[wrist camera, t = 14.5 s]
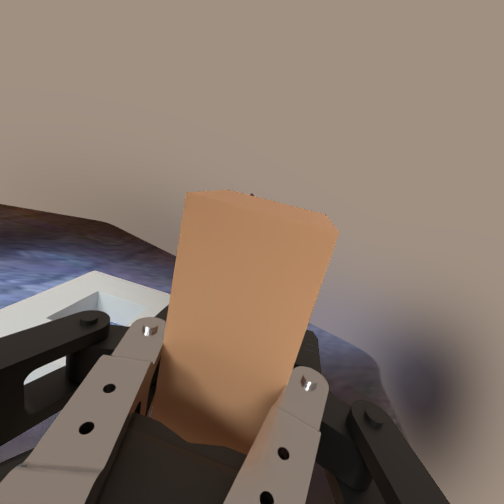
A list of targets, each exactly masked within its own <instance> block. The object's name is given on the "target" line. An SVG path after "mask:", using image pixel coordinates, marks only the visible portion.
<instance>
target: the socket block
mask: <svg viewBox="0 0 504 504" xmlns="http://www.w3.org/2000/svg"><path fill="white" fill-rule="evenodd" d="M170 295H171V294H168V293H165V292H161V291H158V290H155V289H152V288H149V287H146V286H142V285H139V284H136V283H133V282H130V281H126V280H123V279H120V278H117V277H114V276H111V275H107V274H104V273H101V272H98V271H92V272H90V273H87V274H85V275H82V276H80V277H78V278H75V279H73V280H70V281H68V282H66V283H63V284H61V285H58V286H56V287H53V288H51V289H49V290H46V291H44V292H41V293H39V294H36V295H34V296H32V297H29V298H27V299H24V300H22V301H20V302H17V303H15V304H12V305H10V306H7V307H5V308H3V309H0V338H1V337H4V336H7V335H10V334H13V333H16V332H19V331H22V330H25V329H29V328H32V327H35V326H38V325H41V324H44V323H47V322H50V321H53V320H56V319H59V318H62V317H66V316H69V315H72V314H75V313H78V312H81V311H87V310H97V311H102V312H105V313H107V314H108V315H109V316H110V322H113V323H116V324H119V325H122V326H128V327H130V326H131V325H132V323H133V322H135V321H136V320H138V319H140V318H144V317H155V316H156V315H157V314H158V313H159V312H160V311H161V310H163V309H164V308H165V307H166V306H167V305H169V301H170ZM65 365H66V356H65V357H62V358H60V359H58V360H56V361H53V362H51V363H49V364H47V365H44V366H42V367H40V368H38V369H36V370H34V371H33V372H31V373H30V374H29V375H28V376H27V378H26V379H25V381H24V385H25V384H27V383H29V382H31V381H33V380H36V379H38V378H40V377H42V376H44V375H46V374H48V373H50V372H52V371H55V370H57V369H59V368H61V367H63V366H65Z"/></svg>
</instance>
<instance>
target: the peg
mask: <svg viewBox="0 0 504 504" xmlns="http://www.w3.org/2000/svg"><path fill="white" fill-rule="evenodd" d="M338 235H339V231H338V230H337V229H336V227H335V226H334V225H333V224H332V222H331V221H330V220H329V218H328V217H327V216H326V215H325V214H321V213H317V212H313V211H309V210H305V209H301V208H298V207H294V206H290V205H286V204H282V203H278V202H274V201H270V200H267V199H262V198H259V197H255V196H251V195H247V194H243V193H239V192H235V191H231V190H217V191H199V192H186V198H185V204H184V211H183V217H182V223H181V230H180V236H179V243H178V249H177V256H176V262H175V269H174V275H173V282H172V288H171V295H170V301H169V307H168V314H167V320H166V327H165V333H164V340H163V346H162V353H161V359H160V366H159V372H158V378H157V385H156V392H155V398H154V404H153V411H152V417H151V418H152V419H155V420H157V421H160V422H161V423H163V424H164V425H165V426H167V427H168V428H169V429H171V430H172V431H173V432H175V433H176V434H177V435H179V436H180V437H181V438H182V439H184V440H185V441H187V442H189V443H197V444H207V445H218V446H226V447H228V448H231V449H233V450H236V451H239V452H241V453H244V454H247V455H248V453H249V451H250V449H251V447H252V445H253V443H254V441H255V439H256V437H257V435H258V433H259V431H260V429H261V427H262V425H263V423H264V421H265V419H266V417H267V415H268V413H269V411H270V409H271V407H272V406H273V404H276V402H277V400H278V398H279V396H280V394H281V392H282V390H283V388H284V386H285V385H287V384H288V381H289V378H290V375H291V373H292V370H293V367H294V364H295V361H296V358H297V355H298V352H299V349H300V346H301V343H302V340H303V337H304V335H305V332H306V329H307V326H308V323H309V320H310V317H311V314H312V311H313V308H314V305H315V302H316V299H317V296H318V293H319V291H320V288H321V285H322V282H323V279H324V276H325V273H326V270H327V267H328V264H329V261H330V258H331V256H332V253H333V250H334V247H335V244H336V241H337V238H338Z"/></svg>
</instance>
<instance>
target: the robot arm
mask: <svg viewBox="0 0 504 504" xmlns="http://www.w3.org/2000/svg"><path fill="white" fill-rule="evenodd" d="M168 307H169V305H167V306H166V307H165V308H164V309H163V310H161V311H160V312H159V313H158V314H157V315H156V316H155V317H144V318H140V319H138V320H136V321H135V322H133V323H132V325H131V326H130V327H128V326H117V325H110V316H109V315H108V314H107V313H105V312H102V311H97V310H87V311H81V312H78V313H75V314H72V315H69V316H66V317H62V318H59V319H56V320H53V321H50V322H47V323H44V324H41V325H38V326H35V327H32V328H29V329H25V330H22V331H19V332H16V333H13V334H10V335H7V336H4V337H1V338H0V446H2V445H3V444H5V443H7V442H8V441H10V440H12V439H13V438H15V437H17V436H18V435H20V434H22V433H23V432H25V431H27V430H28V429H30V428H32V427H34V426H35V425H37V424H39V423H40V422H42V421H44V420H45V419H47V418H49V417H50V416H52V415H54V414H55V413H57V412H59V411H60V410H62V409H63V410H62V411H61V412H60V414H59V415H58V416H57V418H56V419H55V421H54V422H53V423H52V425H51V426H50V428H49V429H48V430H47V432H46V433H45V435H44V436H43V437H42V439H41V440H40V441H39V443H38V444H37V446H36V447H35V448H33V449H31V450H29V451H26V452H24V453H22V454H19V455H17V456H15V457H13V458H10V459H8V460H6V461H4V462H1V463H0V504H305V502H306V498H307V493H308V489H309V484H310V480H311V476H312V471H313V467H314V463H315V462H317V463H318V464H319V465H321V466H322V467H324V468H325V472H326V476H327V479H328V482H329V485H330V488H331V490H332V493H333V496H334V499H335V502H336V504H385V503H386V504H450V503H449V502H448V500H447V499H446V497H445V496H444V494H443V493H442V491H441V490H440V489H439V487H438V486H437V485H436V483H435V481H434V480H433V478H432V477H431V476H430V474H429V473H428V471H427V470H426V468H425V467H424V465H423V464H422V463H421V461H420V460H419V458H418V457H417V455H416V454H415V453H414V451H413V450H412V448H411V447H410V445H409V444H408V442H407V441H406V439H405V438H404V437H403V435H402V434H401V432H400V431H399V429H398V428H397V426H396V425H395V424H394V422H393V421H392V419H391V418H390V417H389V416H388V414H387V413H386V412H384V411H383V410H382V409H381V408H380V407H378V406H376V405H375V404H373V403H371V402H368V401H364V400H358V401H355V402H354V403H353V404H352V406H350V405H348V404H346V403H345V402H343V401H341V400H340V399H338V398H337V397H335V396H334V395H333V394H332V393H331V392H329V386H328V383H327V381H326V379H325V378H324V377H323V376H322V375H321V366H320V356H319V348H318V347H319V346H318V339H317V337H316V336H315V334H314V333H313V332H312V331H309V330H306V332H305V335H304V337H303V340H302V343H301V346H300V349H299V352H298V355H297V358H296V361H295V364H294V367H293V370H292V373H291V375H290V378H289V381H288V384H287V385H285V386H284V388H283V390H282V392H281V394H280V396H279V398H278V400H277V402H276V404H273V406H272V407H271V409H270V411H269V413H268V415H267V417H266V419H265V421H264V423H263V425H262V427H261V429H260V431H259V433H258V435H257V437H256V439H255V441H254V443H253V445H252V447H251V449H250V451H249V453H248V455H247V454H244V453H241V452H239V451H236V450H233V449H231V448H228V447H226V446H218V445H207V444H197V443H189V442H187V441H185V440H184V439H182V438H181V437H180V436H179V435H177V434H176V433H175V432H173V431H172V430H171V429H169V428H168V427H167V426H165V425H164V424H163V423H161V422H160V421H157V420H155V419H152V418H150V417H149V414H150V411H151V409H152V406H153V403H154V398H155V392H156V385H157V378H158V372H159V366H160V359H161V353H162V346H163V340H164V333H165V327H166V320H167V314H168ZM65 356H66V365H65V366H63V367H61V368H59V369H57V370H55V371H52V372H50V373H48V374H46V375H44V376H42V377H40V378H38V379H36V380H33V381H31V382H29V383H27V384H25V385H24V381H25V379H26V378H27V376H28V375H29V374H30V373H31V372H33V371H34V370H36V369H38V368H40V367H42V366H44V365H47V364H49V363H51V362H53V361H56V360H58V359H60V358H62V357H65ZM373 479H374V480H373ZM374 481H375V482H374ZM375 483H376V484H375ZM376 485H377V486H376ZM377 487H378V488H377ZM378 489H379V490H378ZM379 491H380V492H379ZM380 493H381V494H380ZM381 495H382V496H381ZM382 497H383V498H382ZM383 499H384V500H383ZM384 501H385V502H384Z"/></svg>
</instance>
